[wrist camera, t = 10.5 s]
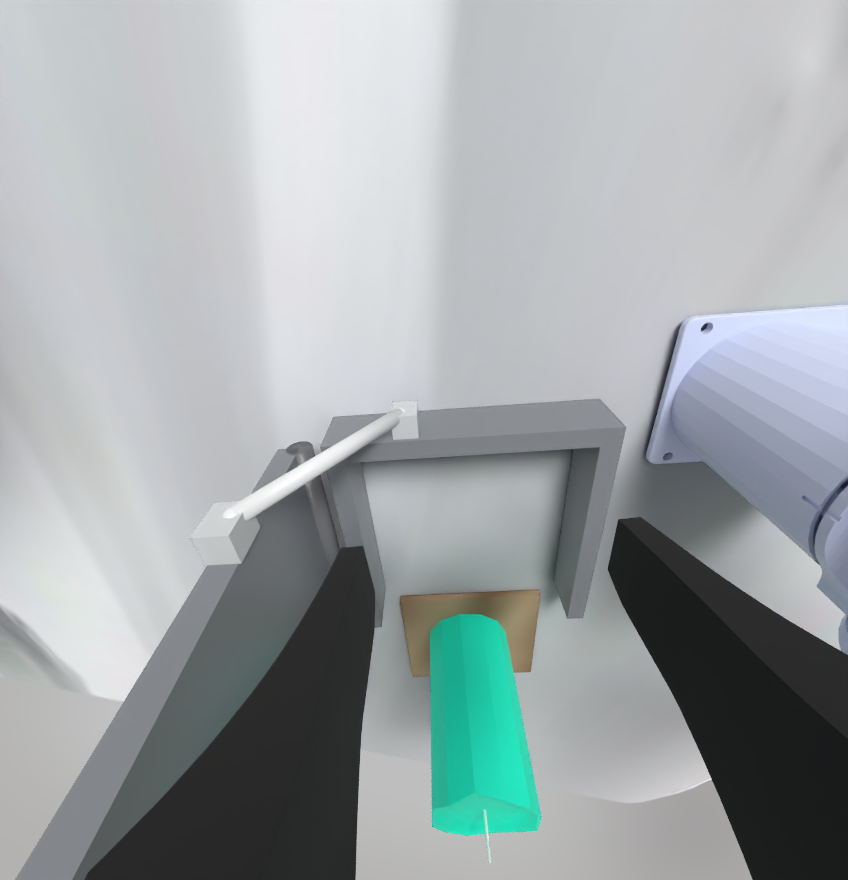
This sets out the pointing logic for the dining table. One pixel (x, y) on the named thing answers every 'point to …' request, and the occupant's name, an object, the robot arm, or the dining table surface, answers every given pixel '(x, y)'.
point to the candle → (477, 733)
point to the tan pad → (504, 606)
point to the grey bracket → (300, 593)
